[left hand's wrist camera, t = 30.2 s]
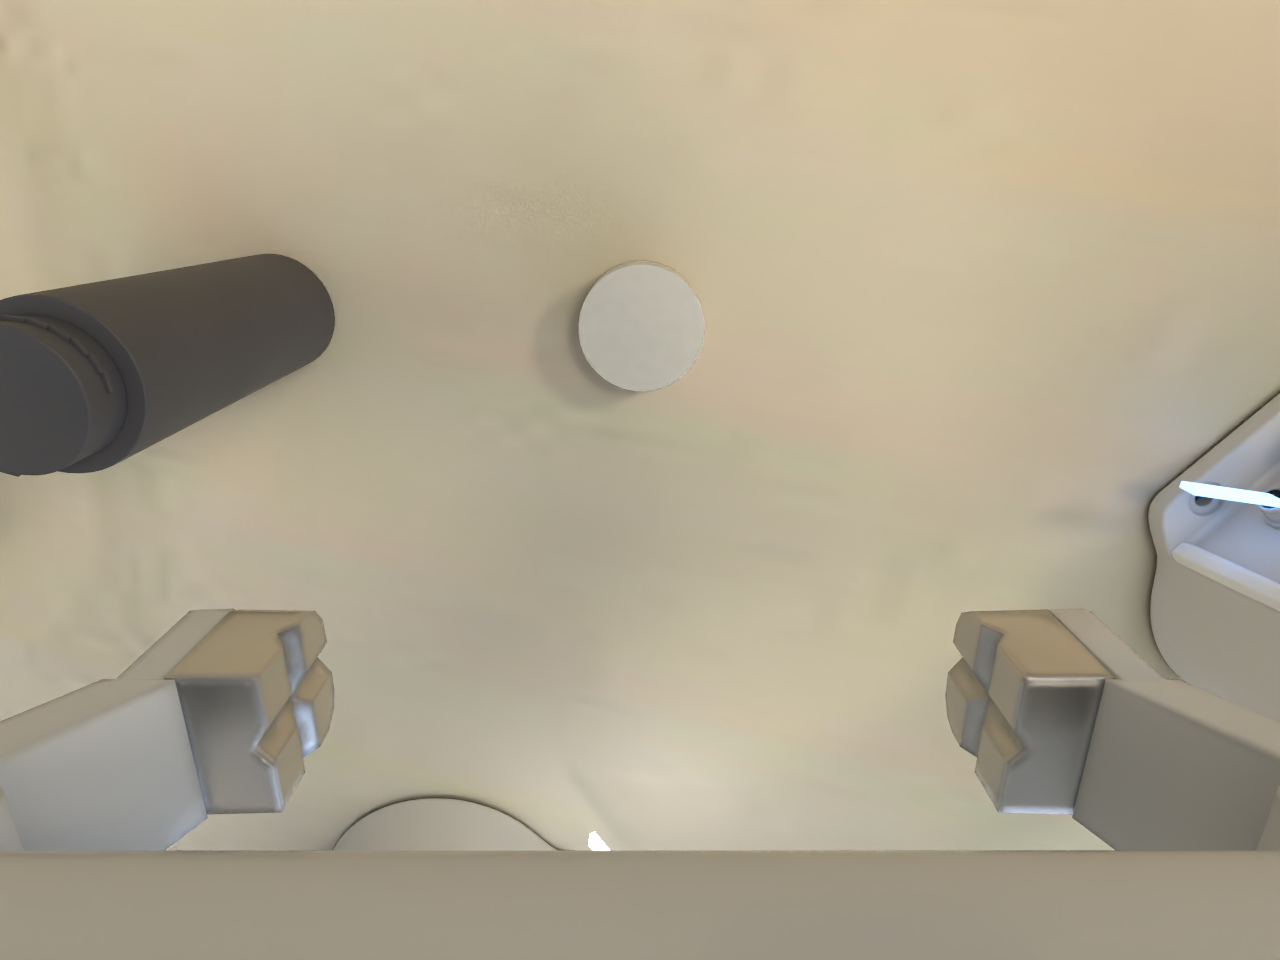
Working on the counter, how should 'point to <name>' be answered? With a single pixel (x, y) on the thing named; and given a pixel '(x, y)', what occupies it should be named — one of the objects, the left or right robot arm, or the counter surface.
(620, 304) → the lid
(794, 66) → the counter surface
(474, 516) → the counter surface
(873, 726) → the counter surface
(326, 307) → the dark gray cylinder
